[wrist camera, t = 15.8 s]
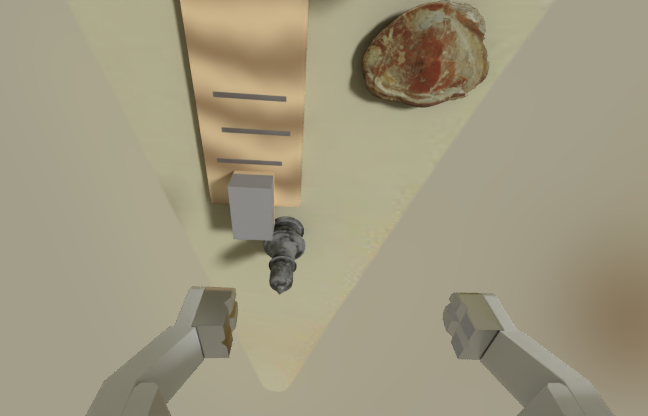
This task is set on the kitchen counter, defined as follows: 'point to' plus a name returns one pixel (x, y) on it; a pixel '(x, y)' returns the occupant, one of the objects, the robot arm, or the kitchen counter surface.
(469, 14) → the oyster shell
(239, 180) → the block
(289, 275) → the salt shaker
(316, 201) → the kitchen counter surface
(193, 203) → the kitchen counter surface
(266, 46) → the board
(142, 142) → the kitchen counter surface
